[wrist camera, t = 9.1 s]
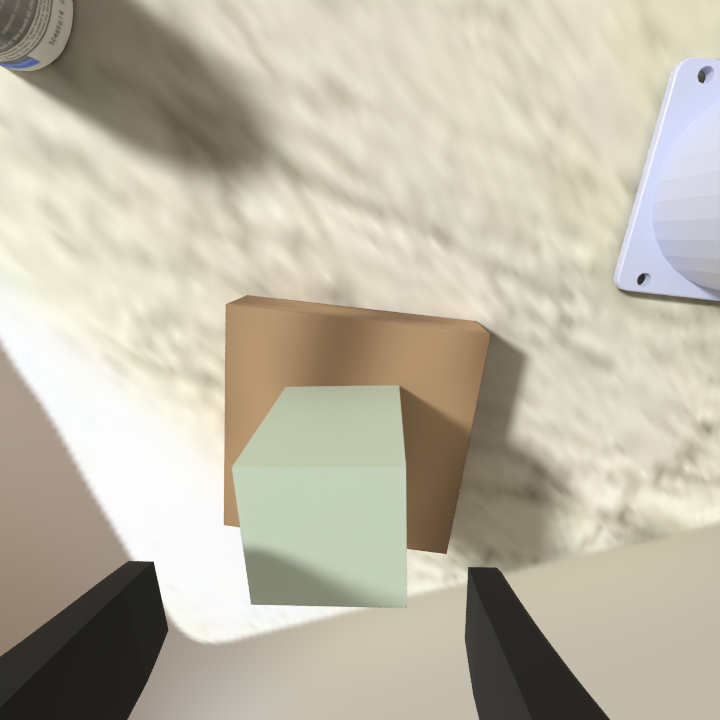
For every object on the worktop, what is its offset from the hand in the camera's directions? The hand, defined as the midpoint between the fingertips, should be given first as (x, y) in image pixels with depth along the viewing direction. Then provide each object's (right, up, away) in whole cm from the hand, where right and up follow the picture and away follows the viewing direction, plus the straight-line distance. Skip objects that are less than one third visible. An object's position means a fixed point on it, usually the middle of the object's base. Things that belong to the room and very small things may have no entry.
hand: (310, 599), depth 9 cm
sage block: (+1, +2, +8) cm, 8 cm away
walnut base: (+1, +3, +10) cm, 10 cm away
